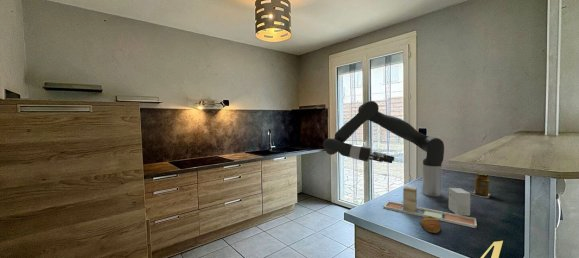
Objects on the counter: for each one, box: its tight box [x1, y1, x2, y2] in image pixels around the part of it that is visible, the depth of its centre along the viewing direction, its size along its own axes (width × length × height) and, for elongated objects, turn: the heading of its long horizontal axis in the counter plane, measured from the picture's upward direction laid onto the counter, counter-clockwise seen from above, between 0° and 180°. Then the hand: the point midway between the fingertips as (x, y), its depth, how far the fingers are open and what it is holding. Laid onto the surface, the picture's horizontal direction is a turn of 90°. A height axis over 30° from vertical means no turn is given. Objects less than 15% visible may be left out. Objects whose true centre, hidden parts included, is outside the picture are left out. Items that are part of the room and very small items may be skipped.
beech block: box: [402, 185, 418, 213], centre depth 111 cm, size 5×5×11 cm
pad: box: [423, 211, 443, 218], centre depth 105 cm, size 7×7×1 cm
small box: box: [448, 187, 471, 217], centre depth 108 cm, size 8×6×10 cm
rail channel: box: [383, 200, 478, 229], centre depth 107 cm, size 9×36×1 cm, turn 53°
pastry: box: [420, 216, 442, 234], centre depth 93 cm, size 9×7×4 cm
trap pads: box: [387, 203, 475, 225], centre depth 107 cm, size 7×35×1 cm, turn 53°
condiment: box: [471, 172, 491, 199], centre depth 132 cm, size 7×8×12 cm
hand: (393, 159), depth 113 cm, fingers open, 8 cm apart
